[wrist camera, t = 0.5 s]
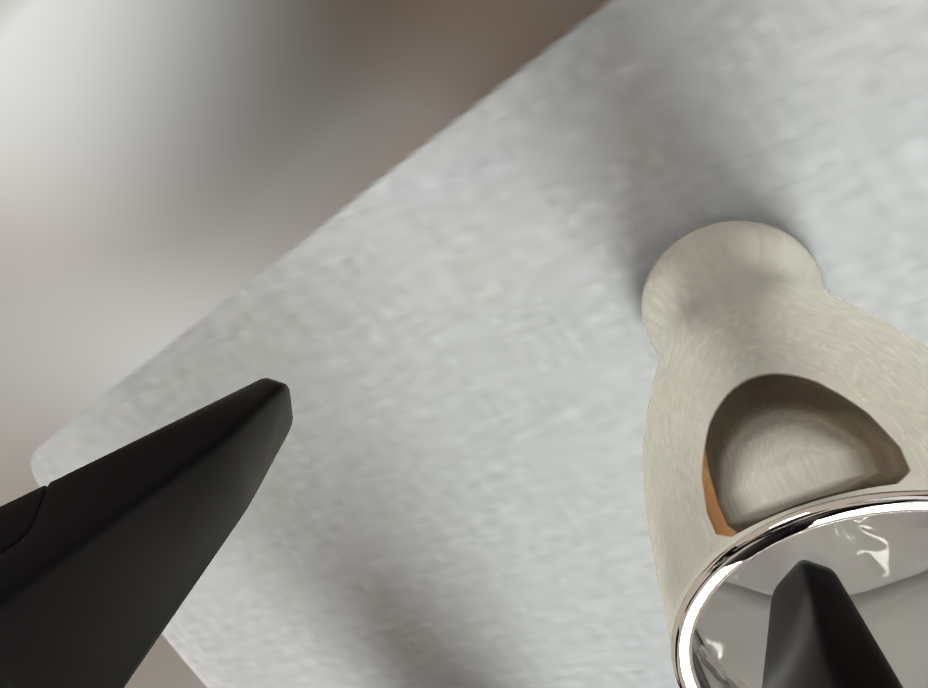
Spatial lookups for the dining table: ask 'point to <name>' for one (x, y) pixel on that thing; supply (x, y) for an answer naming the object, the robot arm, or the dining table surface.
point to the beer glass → (779, 452)
